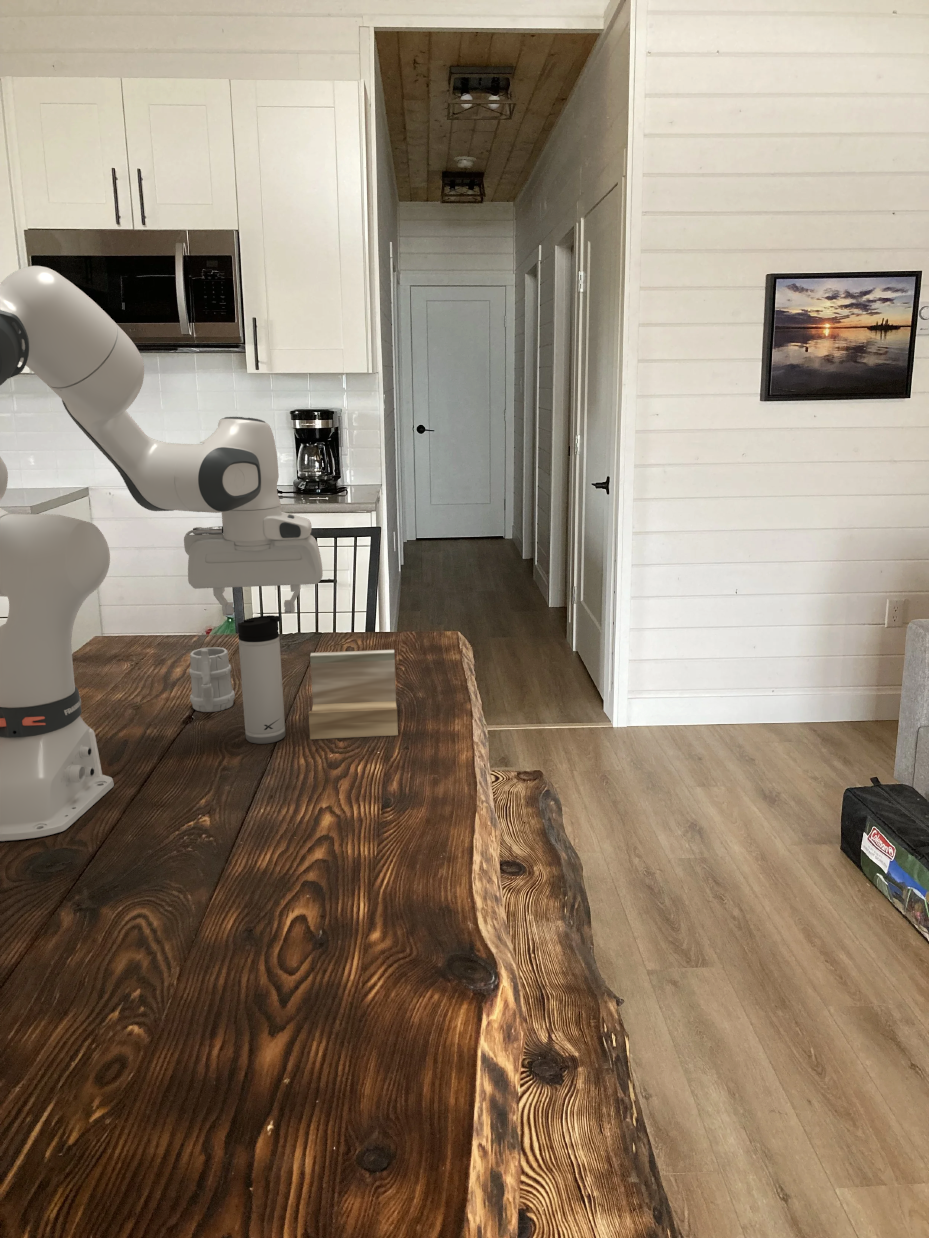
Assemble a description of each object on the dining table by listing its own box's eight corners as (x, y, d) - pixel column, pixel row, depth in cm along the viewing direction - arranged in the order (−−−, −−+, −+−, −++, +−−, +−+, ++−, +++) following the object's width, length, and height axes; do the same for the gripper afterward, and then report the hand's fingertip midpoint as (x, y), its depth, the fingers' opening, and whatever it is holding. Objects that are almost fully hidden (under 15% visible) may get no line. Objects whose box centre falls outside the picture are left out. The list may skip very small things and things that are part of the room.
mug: (236, 697, 172) (232, 633, 169) (231, 719, 160) (226, 651, 157) (193, 699, 170) (187, 635, 168) (185, 722, 159) (179, 653, 156)
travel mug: (278, 745, 148) (270, 622, 143) (239, 743, 150) (230, 620, 145) (293, 731, 154) (286, 612, 149) (255, 729, 155) (247, 611, 151)
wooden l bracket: (397, 735, 152) (395, 669, 149) (310, 739, 151) (306, 673, 148) (396, 710, 163) (394, 649, 161) (314, 714, 162) (310, 652, 159)
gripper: (178, 531, 140) (187, 621, 143) (318, 526, 141) (323, 616, 145) (186, 524, 146) (194, 611, 149) (320, 520, 147) (325, 605, 151)
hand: (259, 613), depth 147 cm, fingers open, 8 cm apart
